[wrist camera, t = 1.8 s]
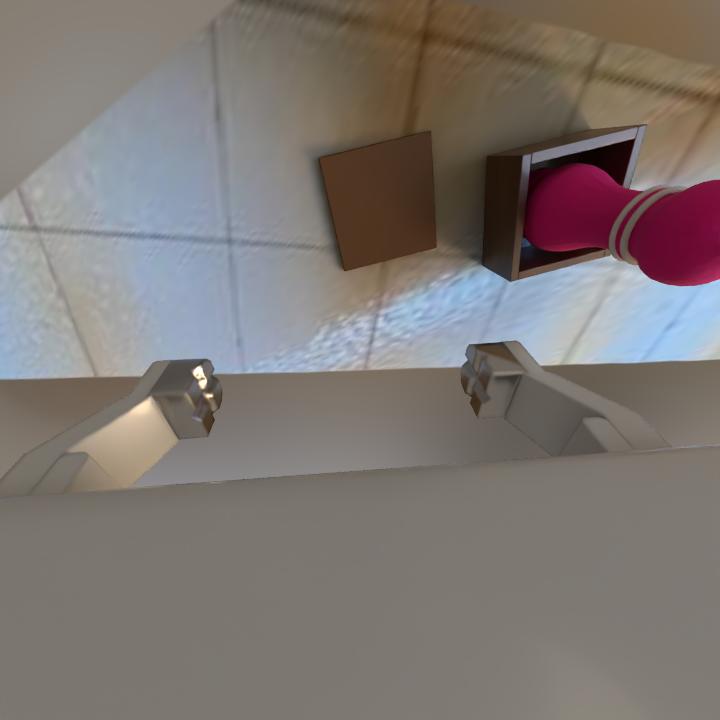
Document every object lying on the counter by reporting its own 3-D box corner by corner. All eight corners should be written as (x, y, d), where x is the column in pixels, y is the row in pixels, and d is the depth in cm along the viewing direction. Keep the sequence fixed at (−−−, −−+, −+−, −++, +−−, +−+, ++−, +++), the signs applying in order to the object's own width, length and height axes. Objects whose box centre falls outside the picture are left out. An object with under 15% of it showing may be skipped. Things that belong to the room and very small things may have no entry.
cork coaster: (318, 158, 26) (318, 158, 26) (429, 131, 27) (431, 130, 26) (344, 270, 32) (344, 271, 32) (435, 246, 32) (436, 247, 32)
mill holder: (482, 265, 34) (510, 282, 30) (486, 155, 28) (522, 155, 24) (569, 242, 35) (610, 255, 30) (592, 129, 29) (647, 123, 24)
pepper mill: (486, 209, 31) (698, 268, 15) (545, 143, 29) (876, 126, 12) (522, 253, 35) (726, 340, 18) (577, 197, 32) (870, 240, 16)
